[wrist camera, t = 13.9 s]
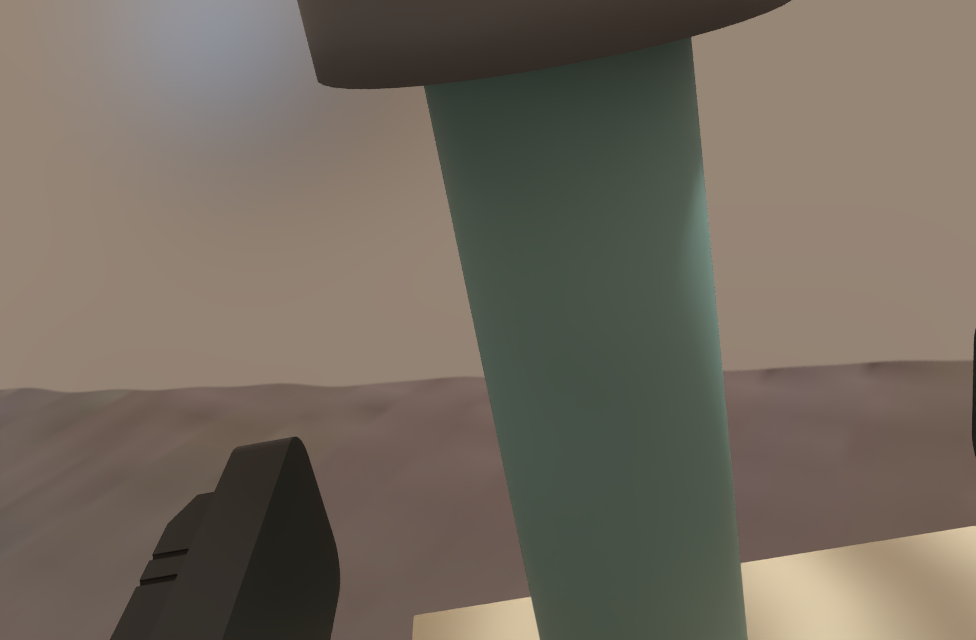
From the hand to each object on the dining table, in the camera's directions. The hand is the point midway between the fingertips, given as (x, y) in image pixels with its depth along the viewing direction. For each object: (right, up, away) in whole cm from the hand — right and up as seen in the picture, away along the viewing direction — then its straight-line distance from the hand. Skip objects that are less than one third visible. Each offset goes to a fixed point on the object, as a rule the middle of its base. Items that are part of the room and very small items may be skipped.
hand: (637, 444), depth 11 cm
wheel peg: (+2, -9, +9) cm, 13 cm away
